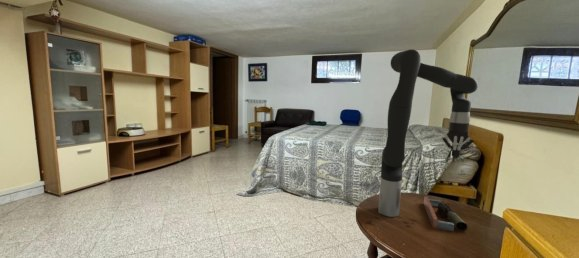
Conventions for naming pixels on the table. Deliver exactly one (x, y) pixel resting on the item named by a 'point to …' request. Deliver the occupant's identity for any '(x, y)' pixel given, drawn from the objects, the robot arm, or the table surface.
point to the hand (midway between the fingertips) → (455, 157)
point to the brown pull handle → (432, 216)
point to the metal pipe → (451, 216)
